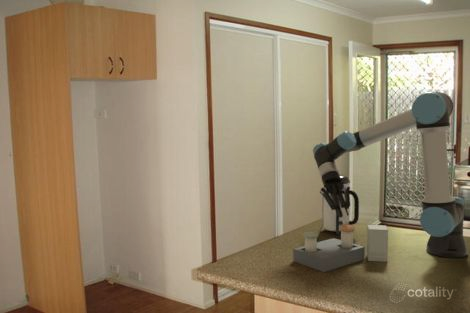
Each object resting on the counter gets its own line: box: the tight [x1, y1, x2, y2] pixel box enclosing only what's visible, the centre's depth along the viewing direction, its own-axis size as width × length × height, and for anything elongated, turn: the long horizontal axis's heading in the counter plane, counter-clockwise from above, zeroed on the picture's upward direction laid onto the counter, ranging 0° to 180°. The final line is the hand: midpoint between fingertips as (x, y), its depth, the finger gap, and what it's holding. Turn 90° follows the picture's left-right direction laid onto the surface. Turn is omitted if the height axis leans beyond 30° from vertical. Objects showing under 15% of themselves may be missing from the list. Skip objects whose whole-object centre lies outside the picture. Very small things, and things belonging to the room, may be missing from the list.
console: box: [292, 237, 366, 273], centre depth 186 cm, size 16×23×5 cm
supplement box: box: [366, 224, 389, 263], centre depth 186 cm, size 7×7×13 cm
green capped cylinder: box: [302, 230, 319, 253], centre depth 183 cm, size 6×6×10 cm
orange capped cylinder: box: [340, 225, 355, 249], centre depth 187 cm, size 6×6×10 cm
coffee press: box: [319, 173, 360, 236], centre depth 225 cm, size 17×16×30 cm
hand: (346, 223), depth 186 cm, fingers closed
